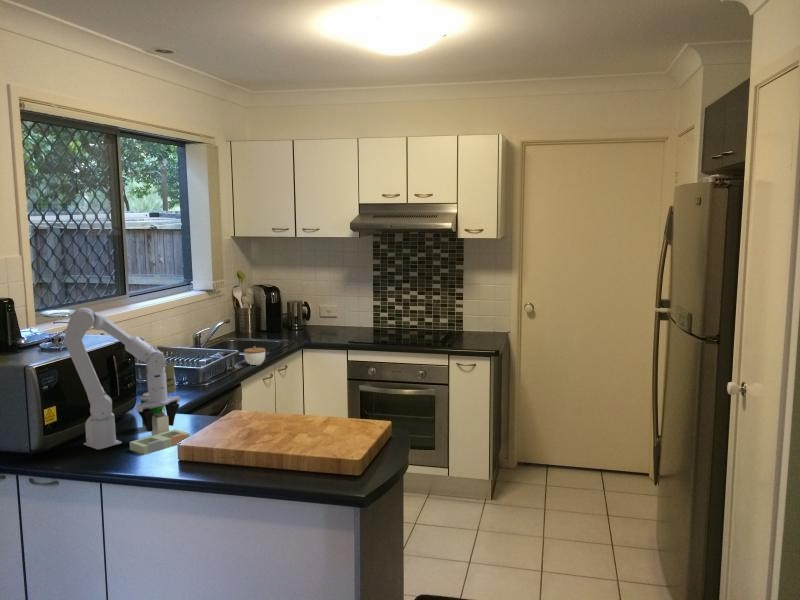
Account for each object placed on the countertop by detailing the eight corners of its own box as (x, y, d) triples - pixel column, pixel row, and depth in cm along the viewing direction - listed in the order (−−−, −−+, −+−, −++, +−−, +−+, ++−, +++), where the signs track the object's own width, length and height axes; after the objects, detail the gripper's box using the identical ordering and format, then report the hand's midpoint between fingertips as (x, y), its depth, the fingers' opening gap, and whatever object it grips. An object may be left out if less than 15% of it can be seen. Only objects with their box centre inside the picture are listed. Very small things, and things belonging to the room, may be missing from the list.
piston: (162, 367, 276) (139, 366, 280) (164, 395, 278) (141, 394, 281) (179, 361, 287) (157, 360, 291) (180, 389, 288) (159, 388, 292)
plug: (151, 437, 219) (150, 414, 218) (162, 434, 222) (161, 411, 221) (158, 439, 216) (157, 416, 216) (169, 436, 220) (168, 413, 219)
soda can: (161, 430, 227) (159, 395, 226) (139, 431, 227) (136, 396, 226) (168, 424, 234) (166, 390, 233) (147, 424, 234) (145, 391, 233)
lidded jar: (269, 364, 338) (268, 346, 337) (248, 367, 332) (247, 348, 331) (261, 361, 347) (260, 343, 346) (241, 364, 341) (240, 346, 340)
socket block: (129, 449, 207) (129, 441, 206) (175, 436, 219) (175, 428, 219) (144, 454, 202) (143, 445, 201) (190, 441, 214) (189, 432, 214)
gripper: (143, 393, 209) (146, 435, 211) (184, 384, 221) (186, 424, 222) (131, 390, 214) (134, 432, 215) (171, 382, 225) (174, 421, 227)
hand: (160, 428), depth 219 cm, fingers open, 7 cm apart
